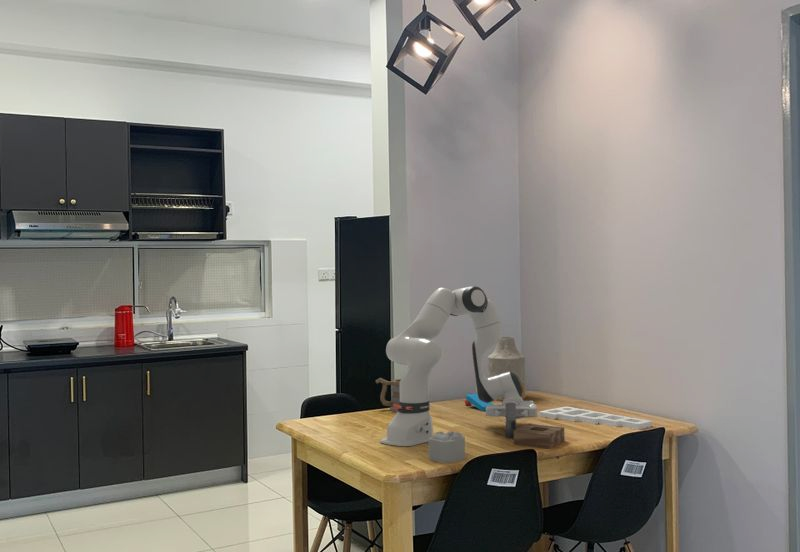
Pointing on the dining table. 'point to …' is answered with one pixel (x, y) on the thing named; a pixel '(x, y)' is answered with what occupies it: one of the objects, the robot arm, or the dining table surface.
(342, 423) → the dining table surface
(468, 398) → the blue and red block
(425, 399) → the robot arm
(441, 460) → the lumpy-topped squat cylinder
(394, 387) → the tankard
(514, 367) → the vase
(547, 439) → the socket block
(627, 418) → the holder
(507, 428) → the dark grey rounded rod
